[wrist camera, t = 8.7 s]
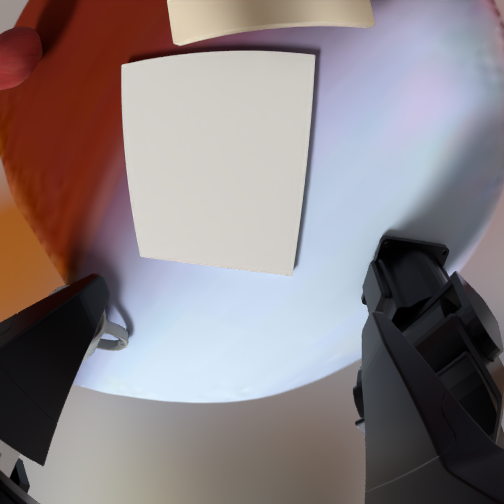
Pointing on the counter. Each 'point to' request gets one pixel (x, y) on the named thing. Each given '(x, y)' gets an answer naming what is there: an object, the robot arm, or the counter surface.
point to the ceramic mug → (109, 329)
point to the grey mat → (218, 156)
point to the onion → (18, 55)
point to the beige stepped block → (261, 16)
